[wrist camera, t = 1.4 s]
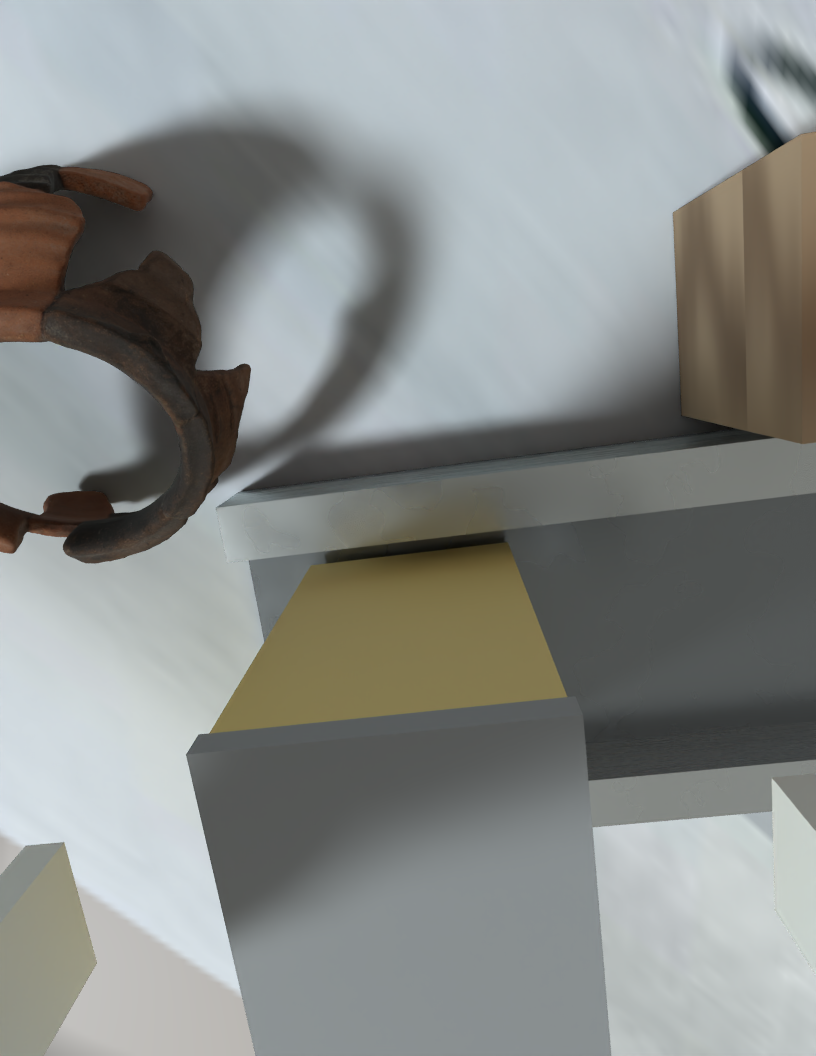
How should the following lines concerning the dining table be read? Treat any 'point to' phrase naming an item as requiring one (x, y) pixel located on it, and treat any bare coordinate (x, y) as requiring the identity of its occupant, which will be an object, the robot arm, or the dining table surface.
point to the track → (613, 595)
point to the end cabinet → (751, 297)
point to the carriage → (407, 821)
